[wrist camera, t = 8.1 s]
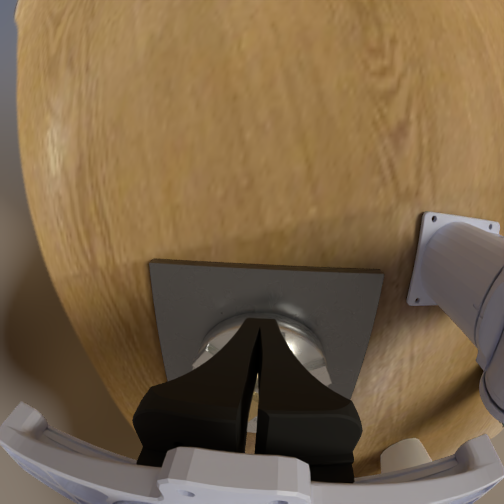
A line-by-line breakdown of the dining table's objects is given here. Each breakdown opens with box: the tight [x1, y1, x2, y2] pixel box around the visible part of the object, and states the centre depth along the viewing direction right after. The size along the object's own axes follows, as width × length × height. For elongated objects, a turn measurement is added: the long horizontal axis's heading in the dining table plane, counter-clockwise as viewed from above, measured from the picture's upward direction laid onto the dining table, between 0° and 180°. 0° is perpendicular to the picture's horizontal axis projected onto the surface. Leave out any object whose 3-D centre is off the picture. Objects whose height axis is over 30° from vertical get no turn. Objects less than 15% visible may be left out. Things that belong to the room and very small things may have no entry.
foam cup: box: [380, 438, 432, 474], centre depth 22 cm, size 10×9×13 cm
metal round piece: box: [192, 313, 332, 433], centre depth 20 cm, size 15×11×7 cm
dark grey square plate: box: [149, 259, 384, 400], centre depth 23 cm, size 18×18×1 cm
